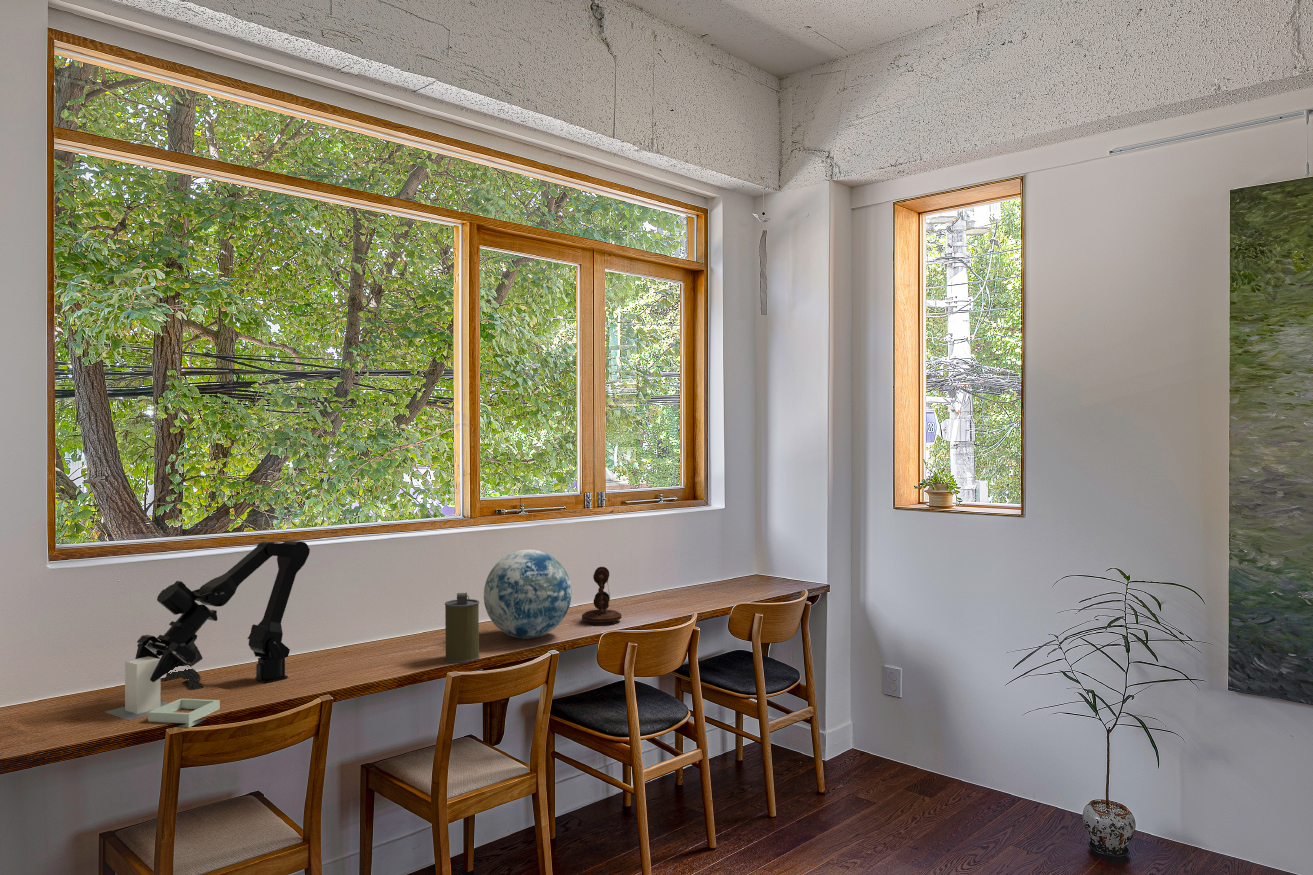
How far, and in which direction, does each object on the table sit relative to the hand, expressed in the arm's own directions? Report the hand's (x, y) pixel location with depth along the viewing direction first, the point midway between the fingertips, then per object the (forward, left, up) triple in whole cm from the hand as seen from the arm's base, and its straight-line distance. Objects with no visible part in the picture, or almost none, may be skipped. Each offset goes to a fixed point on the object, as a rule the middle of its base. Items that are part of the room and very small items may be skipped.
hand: (141, 678), depth 201 cm
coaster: (0, 0, -9) cm, 9 cm away
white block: (0, 0, -8) cm, 8 cm away
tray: (-5, +13, -9) cm, 16 cm away
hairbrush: (-18, -17, -9) cm, 26 cm away
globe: (-112, +17, -9) cm, 114 cm away
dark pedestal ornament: (-146, +20, -9) cm, 148 cm away
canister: (-81, +21, -9) cm, 84 cm away
